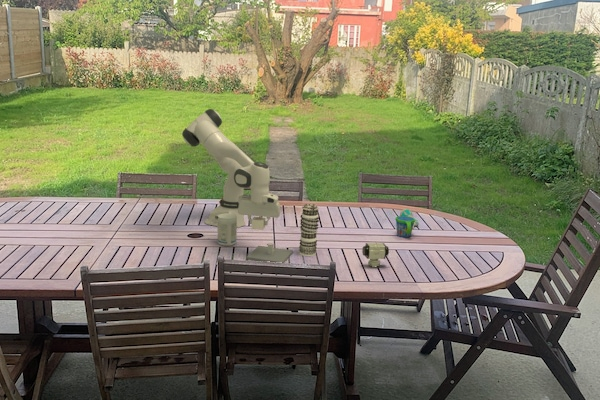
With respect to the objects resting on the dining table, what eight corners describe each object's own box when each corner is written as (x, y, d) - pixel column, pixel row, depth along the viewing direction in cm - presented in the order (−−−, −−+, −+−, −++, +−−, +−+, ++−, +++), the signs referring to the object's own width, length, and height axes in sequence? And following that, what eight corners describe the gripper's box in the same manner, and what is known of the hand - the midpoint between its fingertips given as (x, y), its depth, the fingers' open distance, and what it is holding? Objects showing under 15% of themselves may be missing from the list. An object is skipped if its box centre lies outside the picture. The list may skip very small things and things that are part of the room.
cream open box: (251, 228, 289) (251, 219, 287) (254, 225, 295) (254, 215, 293) (263, 229, 288) (263, 220, 287) (265, 226, 294) (265, 216, 293)
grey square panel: (246, 259, 287) (247, 247, 285) (258, 247, 304) (258, 236, 302) (282, 264, 283) (283, 252, 281) (292, 252, 300) (293, 240, 298)
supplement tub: (232, 239, 314) (233, 212, 310) (238, 245, 306) (239, 217, 302) (214, 241, 310) (215, 213, 306) (220, 247, 301) (221, 219, 298)
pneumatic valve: (360, 264, 289) (363, 240, 286) (384, 264, 291) (386, 240, 288) (363, 268, 284) (366, 244, 281) (387, 268, 286) (390, 244, 283)
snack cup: (391, 231, 344) (393, 213, 342) (409, 231, 345) (411, 214, 342) (396, 239, 329) (398, 222, 327) (415, 240, 330) (417, 222, 327)
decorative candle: (310, 258, 294) (314, 208, 287) (294, 253, 298) (297, 205, 292) (320, 253, 301) (323, 204, 295) (304, 249, 306) (307, 201, 300)
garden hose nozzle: (411, 224, 347) (430, 215, 360) (386, 214, 358) (406, 206, 371) (409, 235, 350) (429, 226, 363) (385, 225, 361) (405, 216, 374)
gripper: (236, 196, 285) (236, 224, 289) (279, 200, 283) (278, 228, 286) (239, 193, 291) (239, 220, 295) (281, 196, 289) (280, 224, 293)
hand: (258, 224), depth 291 cm, fingers closed on cream open box, 6 cm apart
